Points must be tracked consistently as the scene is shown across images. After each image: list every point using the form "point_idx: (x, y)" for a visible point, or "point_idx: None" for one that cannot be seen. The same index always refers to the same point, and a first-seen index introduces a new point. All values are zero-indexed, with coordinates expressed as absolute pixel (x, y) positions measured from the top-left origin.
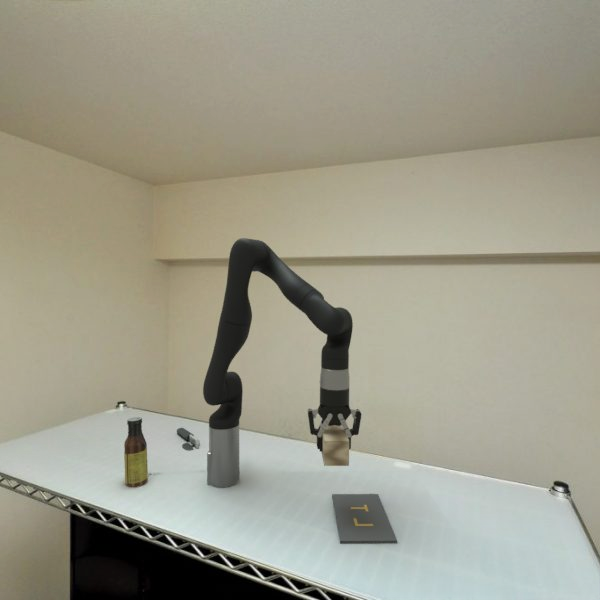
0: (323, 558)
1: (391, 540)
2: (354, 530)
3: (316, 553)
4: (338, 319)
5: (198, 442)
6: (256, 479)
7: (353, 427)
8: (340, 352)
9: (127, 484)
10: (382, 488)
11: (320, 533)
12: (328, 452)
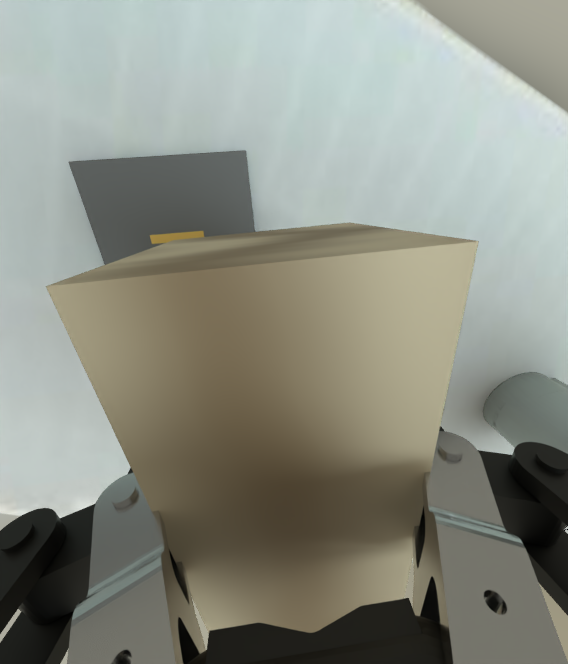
0: (294, 71)
1: (87, 161)
2: (204, 207)
3: (314, 97)
4: None
5: None
6: (446, 410)
7: (60, 625)
8: None
9: None
10: None
11: (301, 200)
12: (348, 231)
